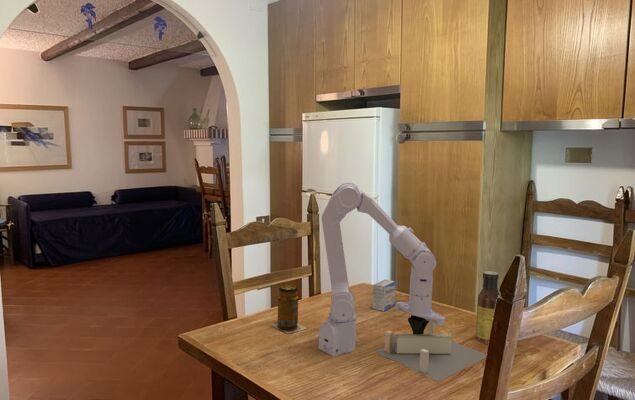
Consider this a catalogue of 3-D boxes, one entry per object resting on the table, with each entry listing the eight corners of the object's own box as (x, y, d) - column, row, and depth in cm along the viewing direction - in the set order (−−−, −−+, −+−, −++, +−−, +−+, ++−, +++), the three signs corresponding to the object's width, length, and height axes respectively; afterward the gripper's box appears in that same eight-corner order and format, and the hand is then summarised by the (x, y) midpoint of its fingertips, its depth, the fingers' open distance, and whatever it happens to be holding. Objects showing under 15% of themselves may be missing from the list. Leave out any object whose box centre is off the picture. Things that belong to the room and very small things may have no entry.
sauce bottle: (501, 348, 125) (505, 276, 123) (477, 345, 126) (481, 275, 124) (496, 338, 131) (501, 270, 129) (473, 336, 133) (477, 269, 130)
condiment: (290, 320, 143) (291, 282, 141) (307, 328, 136) (308, 289, 135) (270, 325, 138) (271, 286, 137) (287, 334, 131) (287, 294, 130)
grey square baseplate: (437, 384, 105) (439, 359, 104) (373, 353, 120) (374, 331, 119) (489, 358, 119) (491, 336, 118) (426, 333, 134) (427, 313, 133)
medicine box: (383, 312, 151) (384, 286, 151) (372, 309, 154) (373, 283, 153) (395, 305, 158) (396, 281, 157) (383, 303, 160) (384, 278, 159)
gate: (391, 353, 118) (392, 336, 117) (390, 351, 119) (391, 334, 119) (450, 353, 118) (451, 336, 118) (449, 351, 120) (450, 334, 119)
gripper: (453, 298, 116) (450, 349, 118) (408, 284, 128) (406, 331, 129) (436, 303, 112) (433, 356, 113) (391, 288, 123) (389, 337, 125)
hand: (417, 343), depth 121 cm, fingers closed, pressing on gate
